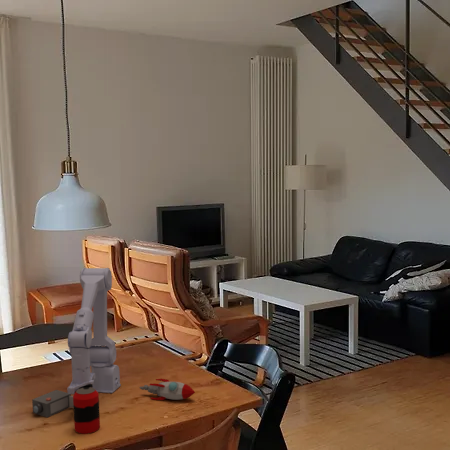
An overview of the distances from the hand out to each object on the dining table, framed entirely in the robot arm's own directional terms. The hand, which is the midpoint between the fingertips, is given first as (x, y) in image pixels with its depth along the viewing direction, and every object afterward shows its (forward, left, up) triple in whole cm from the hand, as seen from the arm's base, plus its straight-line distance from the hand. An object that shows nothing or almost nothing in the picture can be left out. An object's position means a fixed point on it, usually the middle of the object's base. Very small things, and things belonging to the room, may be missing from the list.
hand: (82, 407), depth 201 cm
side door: (+2, -3, -1) cm, 4 cm away
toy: (-23, -17, -2) cm, 28 cm away
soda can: (-7, +11, -2) cm, 13 cm away
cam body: (+11, 0, -2) cm, 11 cm away
